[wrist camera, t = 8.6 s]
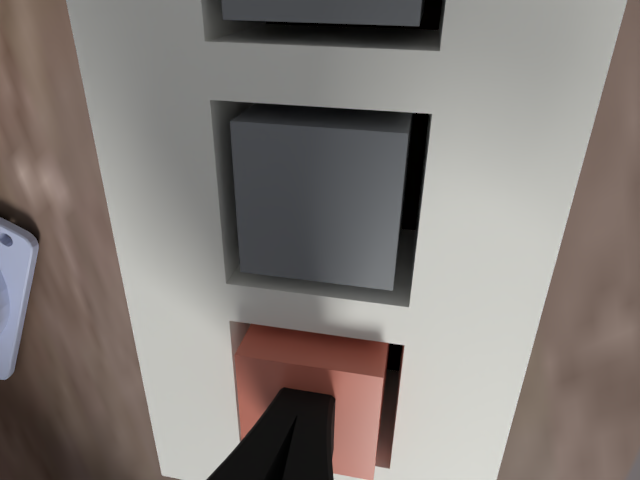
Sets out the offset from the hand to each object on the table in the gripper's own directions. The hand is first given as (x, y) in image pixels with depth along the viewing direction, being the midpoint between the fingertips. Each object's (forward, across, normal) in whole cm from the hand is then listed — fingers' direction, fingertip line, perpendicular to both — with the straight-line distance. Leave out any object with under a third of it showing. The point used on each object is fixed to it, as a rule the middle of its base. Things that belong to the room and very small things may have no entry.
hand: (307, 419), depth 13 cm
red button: (+4, 0, 0) cm, 4 cm away
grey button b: (+5, 0, -6) cm, 7 cm away
